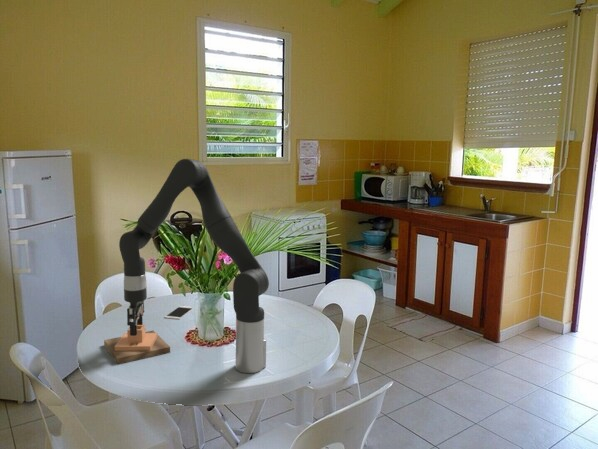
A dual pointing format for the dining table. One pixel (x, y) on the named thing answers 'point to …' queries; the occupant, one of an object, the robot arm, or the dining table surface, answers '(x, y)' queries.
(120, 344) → the flange plate
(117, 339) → the post base
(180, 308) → the smartphone
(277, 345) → the dining table surface
